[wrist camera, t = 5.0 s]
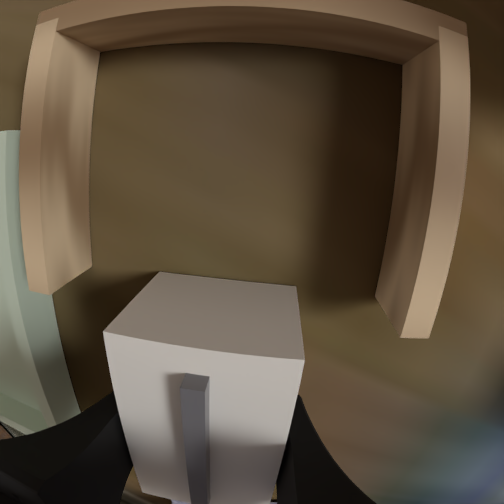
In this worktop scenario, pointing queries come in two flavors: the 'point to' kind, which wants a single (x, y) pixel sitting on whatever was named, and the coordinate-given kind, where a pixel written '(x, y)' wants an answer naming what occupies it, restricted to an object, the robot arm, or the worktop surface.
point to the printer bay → (269, 32)
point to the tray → (26, 322)
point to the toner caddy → (207, 385)
